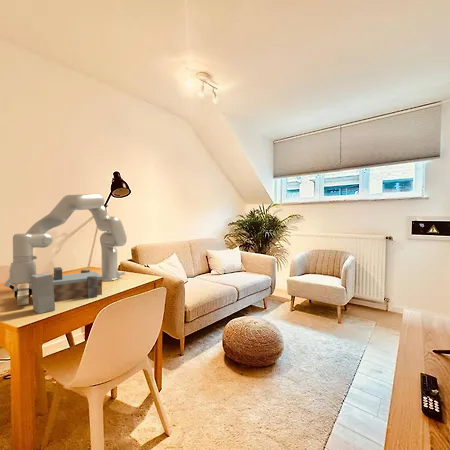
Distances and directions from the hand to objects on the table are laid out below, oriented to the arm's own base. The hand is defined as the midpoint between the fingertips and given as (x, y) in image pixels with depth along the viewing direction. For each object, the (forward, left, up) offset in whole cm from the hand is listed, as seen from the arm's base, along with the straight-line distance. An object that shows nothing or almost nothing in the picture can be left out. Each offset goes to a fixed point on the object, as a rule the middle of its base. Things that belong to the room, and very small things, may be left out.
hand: (23, 297), depth 124 cm
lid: (-20, 0, +6) cm, 21 cm away
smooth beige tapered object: (0, 0, 0) cm, 0 cm away
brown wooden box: (-20, 0, -2) cm, 20 cm away
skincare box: (-7, +19, -2) cm, 20 cm away
